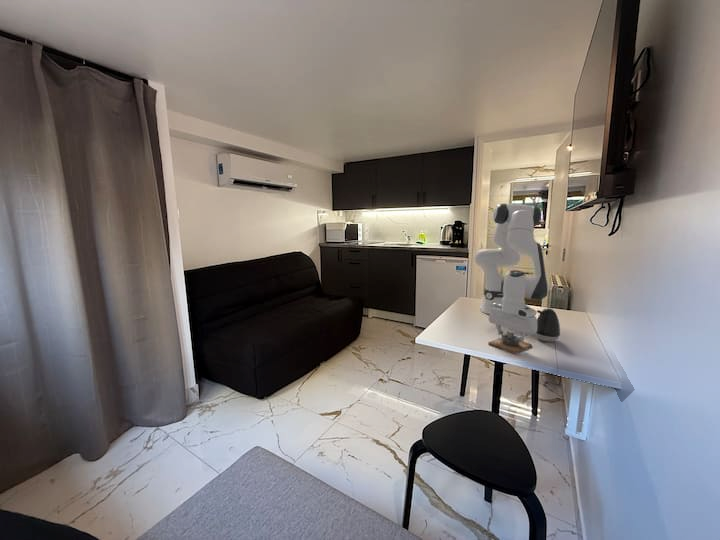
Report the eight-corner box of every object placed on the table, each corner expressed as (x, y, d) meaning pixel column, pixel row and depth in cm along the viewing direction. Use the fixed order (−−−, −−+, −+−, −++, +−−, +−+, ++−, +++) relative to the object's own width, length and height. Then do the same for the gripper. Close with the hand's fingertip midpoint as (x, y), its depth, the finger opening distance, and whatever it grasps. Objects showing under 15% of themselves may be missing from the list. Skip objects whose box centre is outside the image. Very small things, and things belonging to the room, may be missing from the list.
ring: (506, 339, 136) (507, 333, 136) (521, 344, 131) (521, 337, 130) (498, 342, 132) (499, 336, 132) (513, 347, 127) (513, 340, 126)
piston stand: (505, 337, 140) (506, 325, 139) (531, 346, 131) (532, 333, 130) (488, 344, 133) (489, 331, 132) (514, 354, 123) (515, 340, 122)
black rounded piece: (528, 335, 143) (531, 305, 140) (550, 335, 143) (553, 305, 140) (540, 344, 133) (543, 311, 130) (564, 344, 132) (567, 311, 130)
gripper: (486, 303, 136) (485, 332, 138) (533, 314, 119) (530, 347, 121) (494, 301, 139) (492, 329, 141) (540, 312, 122) (537, 343, 125)
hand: (510, 337), depth 131 cm, fingers open, 8 cm apart
